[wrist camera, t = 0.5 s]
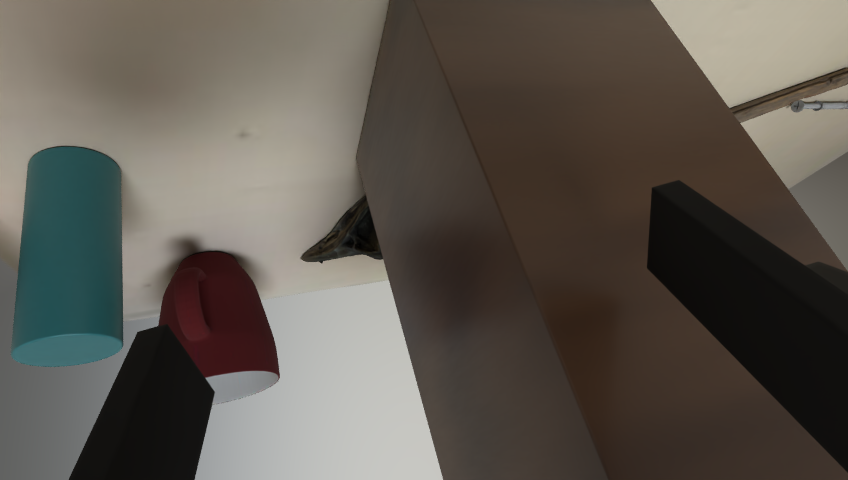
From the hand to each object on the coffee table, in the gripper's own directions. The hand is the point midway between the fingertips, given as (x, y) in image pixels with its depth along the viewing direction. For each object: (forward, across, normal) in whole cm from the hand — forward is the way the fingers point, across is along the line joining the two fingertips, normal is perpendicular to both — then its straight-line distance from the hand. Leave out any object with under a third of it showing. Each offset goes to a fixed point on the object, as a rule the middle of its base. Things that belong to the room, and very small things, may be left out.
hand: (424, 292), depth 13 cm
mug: (+23, -16, -9) cm, 29 cm away
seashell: (+24, -3, -10) cm, 26 cm away
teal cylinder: (+16, -16, +1) cm, 23 cm away
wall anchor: (+26, +39, -12) cm, 49 cm away
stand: (+18, +7, 0) cm, 19 cm away
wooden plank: (+24, +31, -13) cm, 42 cm away
